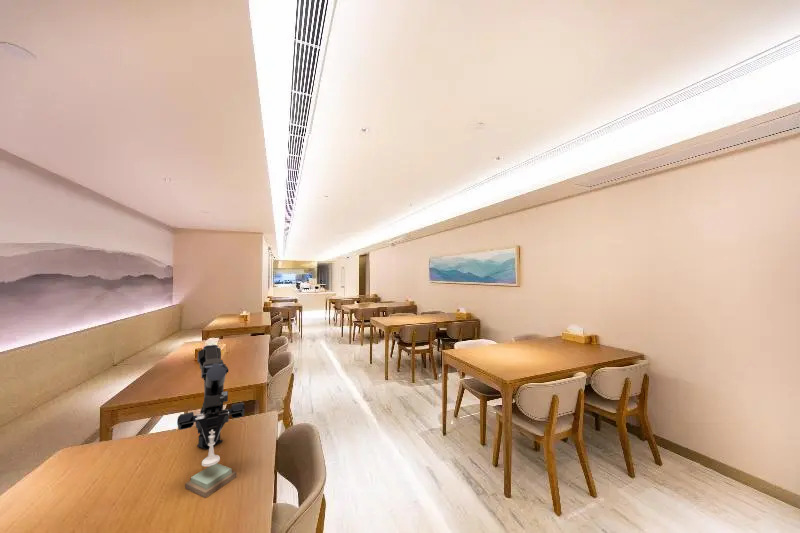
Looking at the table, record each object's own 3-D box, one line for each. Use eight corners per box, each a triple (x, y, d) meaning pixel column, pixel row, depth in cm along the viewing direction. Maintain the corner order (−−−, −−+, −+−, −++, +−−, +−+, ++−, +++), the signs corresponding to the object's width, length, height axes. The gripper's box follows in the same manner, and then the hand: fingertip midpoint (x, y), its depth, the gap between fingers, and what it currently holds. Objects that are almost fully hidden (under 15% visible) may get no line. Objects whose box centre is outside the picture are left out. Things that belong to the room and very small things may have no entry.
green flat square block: (216, 469, 100) (217, 460, 100) (236, 477, 96) (236, 467, 96) (185, 488, 91) (185, 478, 91) (205, 497, 86) (205, 487, 87)
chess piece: (214, 466, 91) (215, 433, 92) (198, 466, 91) (199, 434, 91) (222, 456, 96) (224, 425, 96) (207, 457, 96) (208, 426, 96)
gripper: (178, 389, 93) (171, 441, 83) (244, 379, 102) (245, 424, 92) (181, 405, 100) (175, 455, 90) (243, 394, 109) (244, 438, 99)
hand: (211, 442), depth 92 cm, fingers closed on chess piece
